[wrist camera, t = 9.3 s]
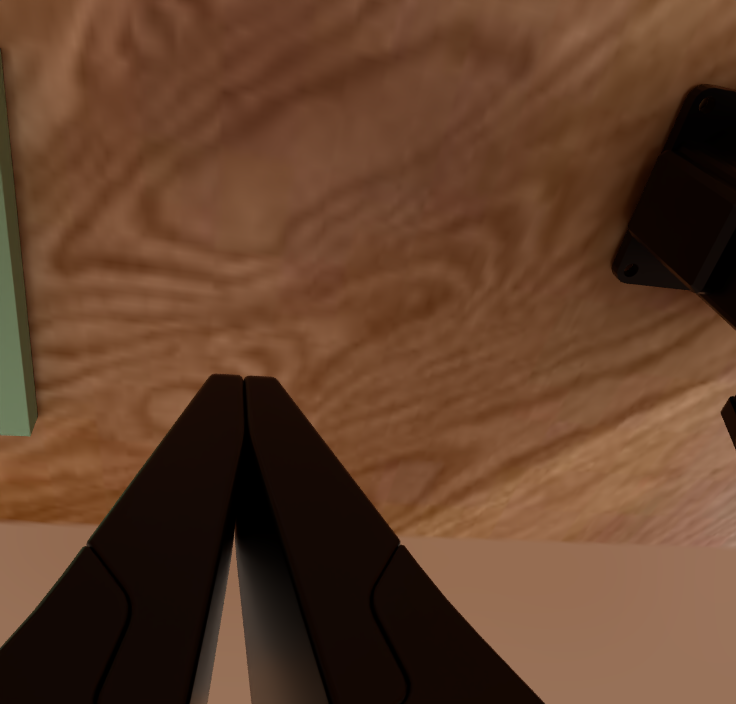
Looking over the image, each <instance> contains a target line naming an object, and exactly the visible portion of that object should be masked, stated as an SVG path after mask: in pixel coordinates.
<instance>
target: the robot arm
mask: <svg viewBox="0 0 736 704" xmlns="http://www.w3.org/2000/svg"><path fill="white" fill-rule="evenodd" d="M706 97H708V102H707V104H706V106H705V107H704V108H702V109H701V110H699V105H700V103H701V102H702V100H703V99H705V98H706ZM630 264H633V265H632V267H631V268H630V269H629V270H627V271H624V270H625V268H626V267H627V266H628V265H630ZM612 272H613V274H614V275H615V276H616V277H617V278H618V279H619V280H620V281H621V282H623V283H627V284H636V285H646V286H655V287H664V288H673V289H682V290H691V291H692V292H694V293H696V294H697V295H698V296H699V297H700V298H701V299H702V300H704V301H705V302H706V303H707V304H708V305H709V306H710V307H711V308H712V309H713V310H714V311H715V312H716V313H718V314H719V315H720V316H721V317H722V318H723V319H724V320H725V321H726V322H727V323H728V324H729V325H731V326H732V327H733V328H734V329H735V330H736V90H734V89H729V88H724V87H719V86H714V85H708V84H705V85H700V86H697V87H695V88H694V89H693V90H692V91H691V92H690V93H689V94H688V96H687V97H686V99H685V101H684V104H683V106H682V108H681V110H680V113H679V115H678V117H677V119H676V122H675V124H674V126H673V128H672V131H671V133H670V135H669V137H668V140H667V142H666V144H665V147H664V149H663V151H662V153H661V155H660V156H659V157H658V159H657V161H656V163H655V166H654V168H653V170H652V172H651V175H650V177H649V179H648V182H647V184H646V186H645V188H644V191H643V193H642V195H641V197H640V200H639V202H638V204H637V207H636V209H635V211H634V213H633V216H632V218H631V220H630V222H629V225H628V230H627V233H626V235H625V237H624V239H623V242H622V244H621V246H620V248H619V251H618V253H617V255H616V258H615V260H614V262H613V265H612ZM721 415H722V418H723V420H724V422H725V425H726V427H727V430H728V432H729V435H730V437H731V439H732V442H733V444H734V447H735V449H736V395H735V396H732V397H730V398H729V399H728V401H727V402H726V404H725V406H724V407H723V409H722V410H721ZM234 531H235V545H236V558H237V568H238V577H239V587H240V596H241V606H242V616H243V626H244V635H245V645H246V654H247V664H248V674H249V683H250V693H251V703H252V704H545V703H544V702H543V701H542V700H541V699H540V698H539V697H538V696H537V695H536V694H535V693H534V692H533V690H532V689H531V688H530V687H529V686H528V685H527V684H526V683H525V682H524V681H523V680H522V679H521V678H520V677H519V676H518V675H517V674H516V673H515V672H514V671H513V670H512V669H511V668H510V666H509V665H508V664H507V663H506V662H505V661H504V660H503V659H502V658H501V657H500V656H499V655H498V654H497V653H496V652H495V651H494V650H493V649H492V648H491V647H490V646H489V644H488V643H487V642H486V641H485V640H484V639H482V637H481V636H480V635H479V634H478V633H477V632H476V631H475V630H474V628H473V627H472V626H471V625H470V624H469V623H468V622H467V621H466V620H465V619H464V617H462V615H461V614H460V613H459V612H458V611H457V610H456V609H455V608H454V606H453V605H452V604H451V603H450V602H449V601H448V600H447V599H446V597H445V596H444V595H443V594H442V593H441V591H440V590H439V589H438V588H437V586H436V585H435V584H434V583H433V581H432V580H431V579H430V578H429V577H428V575H427V574H426V573H425V572H424V570H423V569H422V568H421V567H420V565H419V564H418V563H417V562H416V560H415V559H414V558H413V556H412V555H411V554H410V552H409V551H408V550H407V548H406V547H405V546H404V545H400V540H399V538H398V537H397V536H396V534H395V533H394V532H393V530H392V529H391V528H390V527H389V525H388V524H387V523H386V521H385V520H384V519H383V517H382V516H381V515H380V513H379V512H378V511H377V510H376V508H375V507H374V506H373V504H372V503H371V502H370V500H369V499H368V498H367V496H366V495H365V494H364V493H363V491H362V490H361V489H360V487H359V486H358V485H357V483H356V482H355V481H354V479H353V478H352V477H351V476H350V474H349V473H348V472H347V470H346V469H345V468H344V466H343V465H342V464H341V462H340V461H339V460H338V459H337V457H336V456H335V455H334V453H333V452H332V451H331V449H330V448H329V447H328V445H327V444H326V443H325V441H324V440H323V439H322V438H321V436H320V435H319V434H318V432H317V431H316V430H315V428H314V427H313V426H312V424H311V423H310V422H309V421H308V419H307V418H306V417H305V415H304V414H303V413H302V411H301V410H300V409H299V407H298V406H297V405H296V404H295V402H294V401H293V400H292V398H291V397H290V396H289V394H288V393H287V392H286V390H285V389H284V388H283V387H282V385H281V384H280V383H279V381H278V380H277V379H276V378H274V377H267V376H247V377H245V378H244V381H243V378H242V377H241V376H240V375H230V374H212V375H211V376H210V377H209V378H208V379H207V380H206V382H205V383H204V384H203V386H202V387H201V388H200V390H199V391H198V392H197V394H196V395H195V396H194V398H193V399H192V401H191V402H190V403H189V405H188V406H187V407H186V409H185V410H184V411H183V413H182V414H181V415H180V417H179V418H178V419H177V421H176V422H175V424H174V425H173V426H172V428H171V429H170V430H169V432H168V433H167V434H166V436H165V437H164V438H163V440H162V441H161V442H160V444H159V445H158V446H157V448H156V449H155V451H154V452H153V453H152V455H151V456H150V457H149V459H148V460H147V461H146V463H145V464H144V465H143V467H142V468H141V469H140V471H139V472H138V474H137V475H136V476H135V478H134V479H133V480H132V482H131V483H130V484H129V486H128V487H127V488H126V490H125V491H124V492H123V494H122V495H121V497H120V498H119V499H118V501H117V502H116V503H115V505H114V506H113V507H112V509H111V510H110V511H109V513H108V514H107V515H106V517H105V518H104V520H103V521H102V522H101V524H100V525H99V526H98V528H97V529H96V530H95V532H94V533H93V535H92V536H91V537H90V539H89V540H88V541H87V546H85V547H83V548H82V549H81V550H80V551H79V553H78V554H77V556H76V557H75V558H74V560H73V561H72V562H71V564H70V565H69V566H68V568H67V569H66V570H65V572H64V573H63V575H62V576H61V577H60V578H59V579H58V581H57V582H56V583H55V584H54V586H53V587H52V588H51V590H50V591H49V592H48V593H47V595H46V596H45V597H44V598H43V600H42V601H41V602H40V603H39V605H38V606H37V607H36V608H35V610H34V611H33V612H32V613H31V614H30V615H29V617H28V618H27V619H26V620H25V621H24V622H23V623H22V624H21V625H20V627H19V628H18V629H17V630H16V631H15V632H14V633H13V634H12V635H11V637H10V638H9V639H8V640H7V641H6V642H5V643H4V644H3V646H2V647H1V648H0V704H207V702H208V696H209V689H210V683H211V677H212V671H213V665H214V659H215V653H216V647H217V641H218V634H219V629H220V623H221V616H222V611H223V604H224V598H225V592H226V585H227V580H228V574H229V567H230V562H231V555H232V547H233V540H234Z"/></svg>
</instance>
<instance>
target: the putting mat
mask: <svg viewBox="0 0 736 704" xmlns="http://www.w3.org/2000/svg"><path fill="white" fill-rule="evenodd" d="M37 417H38V415H37V405H36V395H35V385H34V375H33V365H32V355H31V346H30V336H29V326H28V316H27V306H26V296H25V286H24V276H23V266H22V257H21V247H20V237H19V227H18V217H17V207H16V197H15V187H14V177H13V168H12V158H11V148H10V138H9V128H8V118H7V108H6V98H5V88H4V78H3V69H2V59H1V49H0V435H12V436H31V433H32V431H33V428H34V425H35V423H36V420H37Z"/></svg>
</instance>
